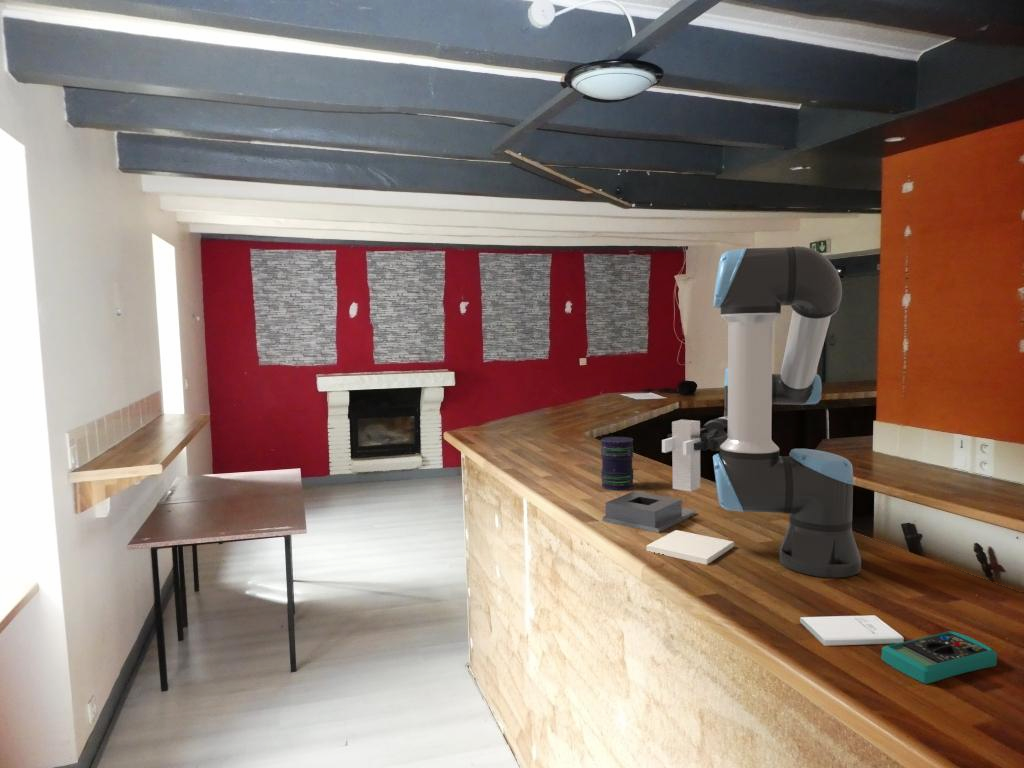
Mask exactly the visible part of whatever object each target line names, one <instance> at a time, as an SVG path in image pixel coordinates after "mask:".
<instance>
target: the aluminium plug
mask: <svg viewBox="0 0 1024 768" xmlns="http://www.w3.org/2000/svg"><path fill="white" fill-rule="evenodd" d="M700 429H701V420H692V419H690V420H689V419H679V420H675V421H672V422H671V432H672V433H671V434H672V447H673V450H672V451H671V453H672V455H671V457H672V458H671V459H672V489H673V490H678V491H686V492H692V491H695V490H696V491H697V490H698V489H700V488H701V451H698V452H695V453H691V454H688V455H683V442H686V441H689V440H693V439H696V438H700Z"/></svg>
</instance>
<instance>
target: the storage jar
mask: <svg viewBox="0 0 1024 768" xmlns="http://www.w3.org/2000/svg"><path fill="white" fill-rule="evenodd" d="M600 441H601V443H600V444H601V445H600V446H601V447H600V453H601V454H600V456H601V458H602V459H601V460H602V461H601V463H602V464H601V470H600V474H601V476H600V477H601V478H600V479H601V488H602V489H604V490H607V491H617V492H620V491H629V490H632V489H633V488H634V484H633V483H634V469H633V458H634V444H633V443H634V439H633V438H632V437H627V436H607V437H602V438H601V439H600Z"/></svg>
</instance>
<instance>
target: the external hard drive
mask: <svg viewBox="0 0 1024 768" xmlns="http://www.w3.org/2000/svg"><path fill="white" fill-rule="evenodd" d="M799 621H800V622H799V623H801V624H802V625H803V626H804V627H805V629H807V631H809V632H810V634H811V635H813V636H814V637H815V638H816V639H817V641H819V642H820V643H821V645H823V646H825V647H826V646H827V647H829V646H851V645H853V646H854V645H855V646H856V645H857V646H858V645H885V644H887V645H888V644H889V645H892V644H897V643H902V642H905V641H904V639H905V638H904V636H902V634H900V633H899V632H897V631H896V630H895V629H893V628H892V627H891V626H890V625H888V624H887V623H886V622H884V621H883V620H882V619H880V618H879V617H878V616H877V615H874V614H873V615H871V614H870V615H838V616H837V615H835V616H834V615H833V616H832V615H831V616H804V617H803V616H802V617H800V618H799Z"/></svg>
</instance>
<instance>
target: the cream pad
mask: <svg viewBox="0 0 1024 768" xmlns="http://www.w3.org/2000/svg"><path fill="white" fill-rule="evenodd" d="M734 543H735V542H734V541H732V540H727V539H722V538H718V537H711V536H707V535H702V534H698V533H694V532H693V533H692V532H687V531H683V530H677V529H675V530H672V531H671V532H669V533H667V534H665V535H664V536H662V537H660V538H658V539H656V540H655V541H652V542H651V543H649V544H647V545H646V552H649V551H650V552H649V553H654V552H655V554H658V553H660V554H659V555H662V554H664V555H663V556H668V557H672V558H676V559H680V560H685V561H688V562H693V563H697V564H702V565H706V566H707V565H708V564H710V563H712V562H713V561H715V560H716V559H718V558H719V557H721V556H722V555H724V554H726V553H727V552H728V551H729V550H731V549H733V548H734V545H735V544H734Z"/></svg>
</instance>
